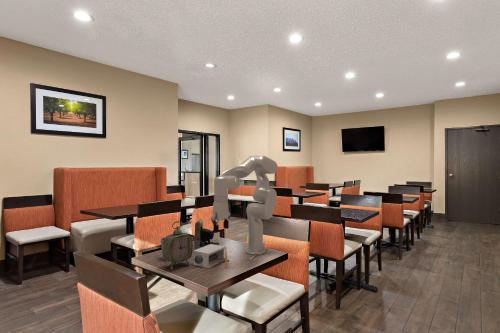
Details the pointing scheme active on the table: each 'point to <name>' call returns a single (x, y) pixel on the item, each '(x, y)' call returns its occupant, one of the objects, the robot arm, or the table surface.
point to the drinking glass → (162, 248)
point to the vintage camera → (202, 235)
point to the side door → (226, 258)
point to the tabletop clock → (177, 246)
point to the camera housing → (208, 256)
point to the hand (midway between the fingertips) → (221, 230)
